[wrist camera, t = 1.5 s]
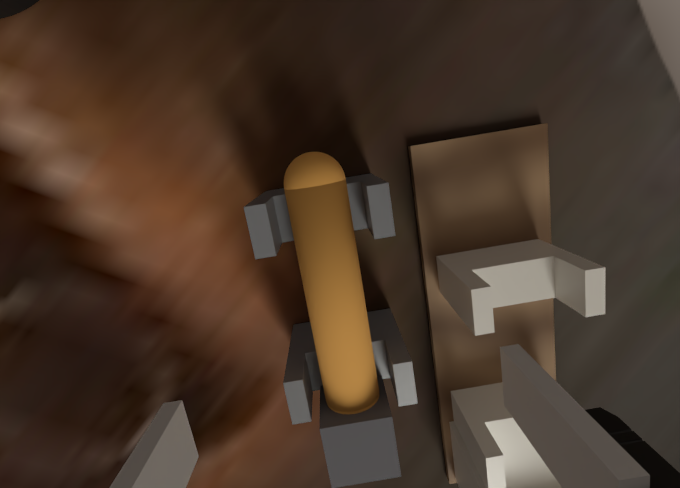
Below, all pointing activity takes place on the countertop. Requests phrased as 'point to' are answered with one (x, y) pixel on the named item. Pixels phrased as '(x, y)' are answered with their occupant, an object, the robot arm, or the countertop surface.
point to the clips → (477, 313)
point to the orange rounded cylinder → (339, 325)
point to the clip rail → (476, 233)
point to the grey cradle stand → (302, 364)
